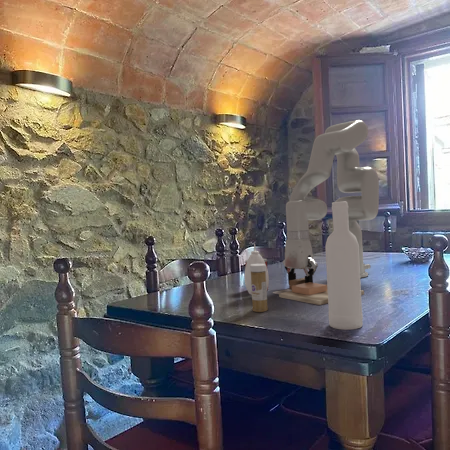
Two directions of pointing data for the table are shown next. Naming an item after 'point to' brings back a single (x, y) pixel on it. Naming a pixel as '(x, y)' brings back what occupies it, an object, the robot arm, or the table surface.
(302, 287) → the tile
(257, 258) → the sauce bottle
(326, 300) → the board
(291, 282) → the scraper
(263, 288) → the sprinkles bottle
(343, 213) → the bottle
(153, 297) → the table surface
